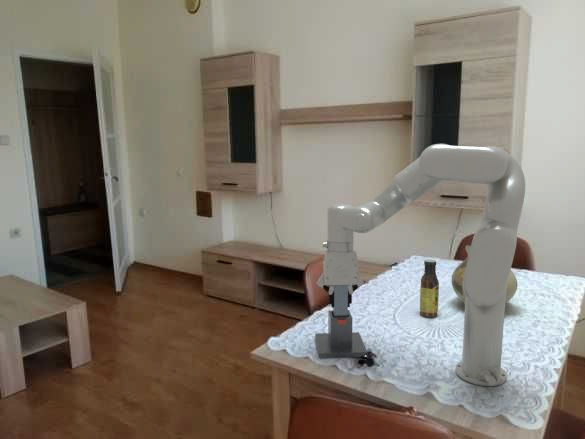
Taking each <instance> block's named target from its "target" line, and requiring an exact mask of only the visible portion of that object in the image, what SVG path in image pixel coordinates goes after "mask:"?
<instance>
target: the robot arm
mask: <svg viewBox="0 0 585 439" xmlns="http://www.w3.org/2000/svg"><path fill="white" fill-rule="evenodd" d="M443 181H447V182H455V183H456V182H458V183H471V184H484V185H486V184H487V194H486V197H485V202H484V207H483V212H482V216H481V220H480V223H479V225H478V228H477V229H476V231H475V232H474V234H473V238H472V241H471V243H470V245H471V248H470V253H469V257H468V261H467V266H466V270H465V274H464V279H463V291H464V294H465V296H466V301H465V306H464V318H463V319H464V320H463V335H462V336H463V338H462V339H463V340H462V354H461V356H462V358H461V361H459V362H458V363H457V364H455V373H456V374H457V376H458V377H459V378H460V379H462V380H464V381H465V382H467V383H470V384H473V385H476V386H483V387H496V386H499V385H502V384H504V383H505V382H506V381H507V379H508V378H507V377H508V375H507V372H506V371H505V370H504V368H502V355H503V354H502V353H503V340H504V338H503V337H504V336H503V335H504V325H505V324H504V322H505V310H506V309H505V308H506V304H505V299H506V288H507V281H508V277H509V274H510V270H512V269H511V268H512V265H513V263H514V262H513V261H514V257H515V252H516V249H517V242H518V239H517V238H518V234H517V233H518V228H519V225H520V220H521V216H522V211H523V210H522V209H523V205H524V201H525V196H526V179H525V174H524V171H523V169H522V166H521V165H520V163H519V162H518V161H517V160H516V158H514V157H513V155H512V154H510V153H509V152H507V151H506V150H505V149H502V148H500V147H498V146H493V145H488V146H465V145H463V146H462V145H450V144H447V143H435V144H431V145H429V146H427V147H426V148H425V149H424V150H423V151H422V152H421V154H420V156H418V158H417V159H414V161H413V162H411V163H410V164H409V165H408V166H406V167H405V168H404V169H402V170H401V171H399V173H397V174H396V175H395V176H394V177H393V178H392V180H391V182H390V184H389V185H388V186H386V188H385V189H384V190H382V191H381V192H380V193H379V194H377V195H376V196H375V197H373V198H372V199H371V200H369V201H368V202H366V203H364V204H362V205H359V206H353V205H351V204H349V203H348V204H347V203H334V204H331V205H329V206H328V207H327V241H326V242H322V248H326V250H325V251H324V257H323V267H322V274H321V275H320V276H319V278H318V280H317V281H316V285H317V286H318V287H320V288H322V289H323V290H324V291H325V292H326V293H328V304H329V305H330V307H331V308H332V309H333V308H334V294H333V288H334V286H348V308H350V307H351V304H352V303H353V294H354V293H355V292H356V290H357V289H358V288H360V287H361V286H362V285H364V284H365V282H364V280H363V278H362V277H361V275H360V274H359V264H358V263H359V262H358V253H357V251H356V249H354V233H358V234H367V233H369V232H372V231H373V230H375V229H376V228H378V227H380V226H381V225H382V224H385V222H386V221H388V220H390V219H391V218H392V217H394V216H395V215H396V214H397V213H399V212H400V211H401V210H403V209H405V207H408V206H409V205H411V204H413V203H414V202H416V201H417V200H418V199H420V197H422V196H423V195H425V194H426V193H428V192H429V191H430V190H431V189H433V188H434V187H436V186H437V185H439V184H440V183H441V182H443Z"/></svg>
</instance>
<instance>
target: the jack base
mask: <svg viewBox="0 0 585 439" xmlns="http://www.w3.org/2000/svg"><path fill="white" fill-rule="evenodd" d="M327 314H328V317H327V319H328V320H327V321H328V325H327V326H328V327H327V328H328V330H327V333H326V332H325V333H323V332H322V333H321V332H320V333H319V332H318V333H314V338H315V339H314V340H315V346H316V349H317V350H316V351H317V354H318V355H317V356H318V358H319V359H339V358H341V359H342V358H346V359H347V358H362V357H361V356H365V355H366V353H367V354H368V350H367V349H366V348H367V347H366V346H365V343H364V340H363V339H362V336H361V334H360V331H359V332H357V331H356V332H354V331H353V316H352V314H351V311H350V310H349V309H348V317H333V309H331V310H328V313H327Z"/></svg>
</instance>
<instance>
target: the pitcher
mask: <svg viewBox="0 0 585 439" xmlns="http://www.w3.org/2000/svg"><path fill="white" fill-rule="evenodd" d="M464 247H465V252H466V254H467V256H466V258H465V259H464V260H463V261H462V262H460V264H458V266H456V267H455V268H454V270H453V272H452V274H451V287H452V289H453V292H454V293H455V295H456V296H457V297H458V298H459V300H461V301H462V302H463V305H464V307H465V301H466V296H465V294H464V291H463V279H464V274H465V270H466V266H467V261H468V257H469V253H470V248H471V243H469V244H466V245H465V246H464ZM517 290H518V279H517V277H516V275H515V273H514V272H513V270H512V269H511V270H510V274H509V277H508V281H507V288H506V299H505V305H506V304H507V303H509V302H510V300H512V299H513V297H514V296H515V294H516V292H517Z"/></svg>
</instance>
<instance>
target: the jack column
mask: <svg viewBox="0 0 585 439" xmlns="http://www.w3.org/2000/svg"><path fill="white" fill-rule="evenodd" d="M333 294H334V308H332V310H333V317H348V310H349V307H348V286H334V288H333Z"/></svg>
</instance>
